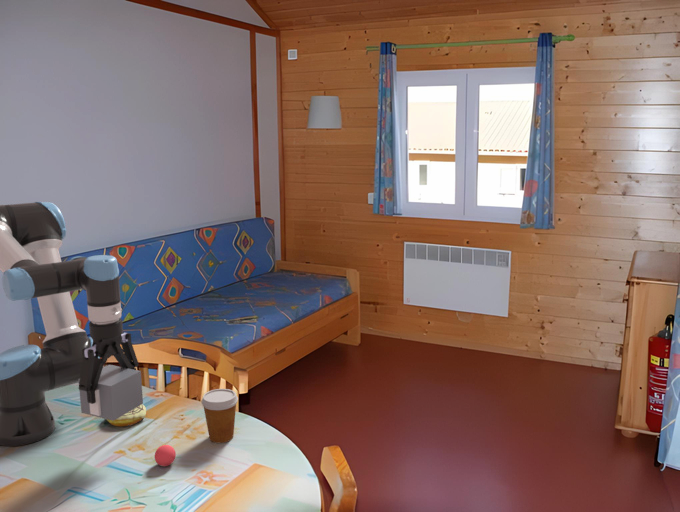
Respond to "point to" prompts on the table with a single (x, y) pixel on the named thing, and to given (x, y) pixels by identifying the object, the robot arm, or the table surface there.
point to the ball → (165, 455)
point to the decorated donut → (130, 417)
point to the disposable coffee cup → (220, 414)
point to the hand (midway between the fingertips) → (112, 405)
